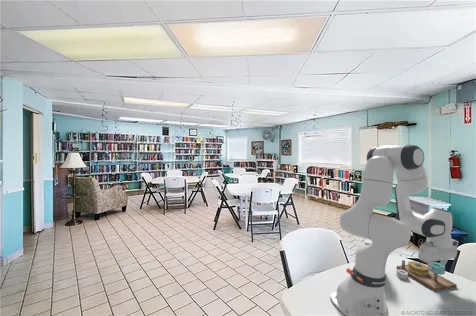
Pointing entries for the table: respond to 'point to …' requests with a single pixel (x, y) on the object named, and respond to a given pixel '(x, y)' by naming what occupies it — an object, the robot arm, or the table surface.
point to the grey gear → (402, 274)
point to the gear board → (426, 276)
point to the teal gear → (437, 268)
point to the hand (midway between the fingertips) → (436, 267)
